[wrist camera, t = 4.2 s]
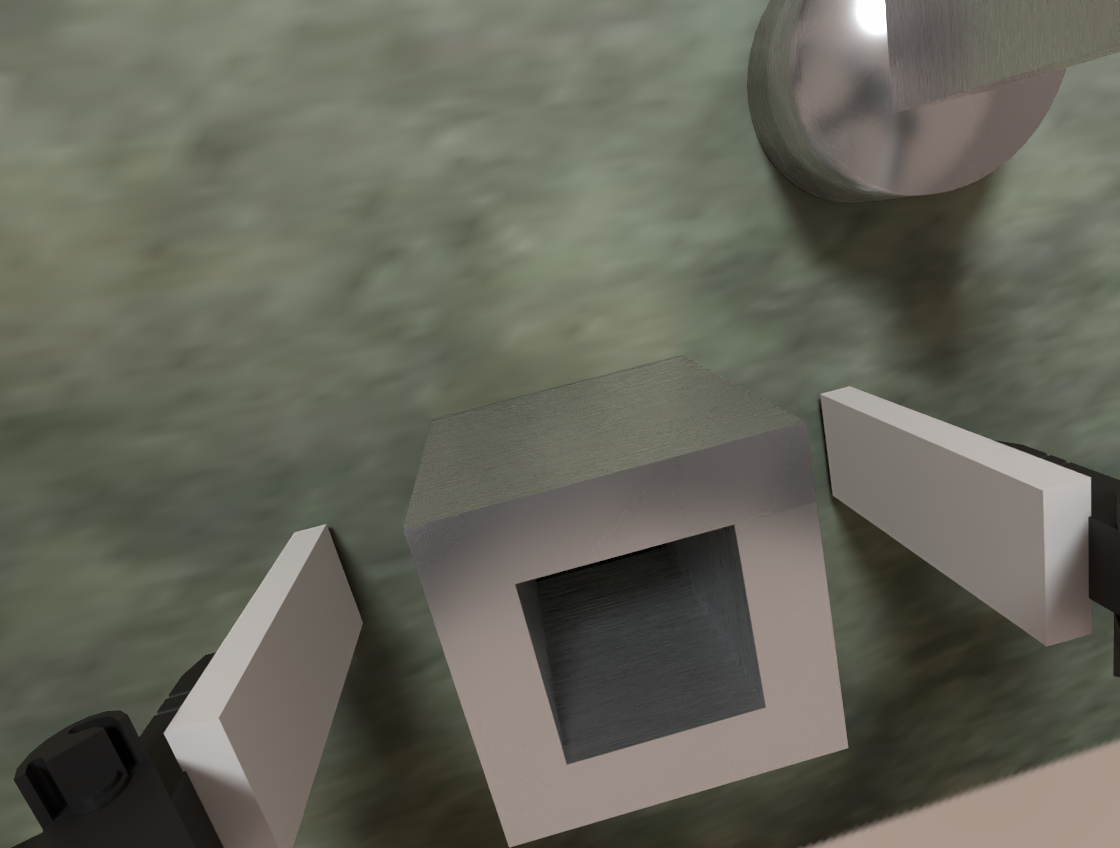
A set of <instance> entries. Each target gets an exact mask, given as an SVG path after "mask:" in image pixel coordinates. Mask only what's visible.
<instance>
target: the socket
mask: <svg viewBox="0 0 1120 848" xmlns="http://www.w3.org/2000/svg"><path fill="white" fill-rule="evenodd" d="M403 531H404V534H405V537H406V540H407V543H408V546H409V549H410V552H411V555H412V558H413V561H414V564H415V567H416V570H417V573H418V576H419V579H420V582H421V585H422V588H423V591H424V594H425V597H426V600H427V603H428V606H429V609H430V612H431V615H432V618H433V621H434V624H435V627H436V630H437V633H438V636H439V639H440V642H441V645H442V648H443V651H444V654H445V657H446V660H447V663H448V666H449V669H450V672H451V675H452V678H453V681H454V684H455V687H456V690H457V693H458V696H459V699H460V702H461V705H462V708H463V711H464V714H465V717H466V720H467V723H468V726H469V729H470V732H471V735H472V738H473V741H474V744H475V747H476V750H477V753H478V756H479V759H480V762H481V765H482V768H483V771H484V774H485V777H486V780H487V783H488V786H489V789H490V792H491V795H492V798H493V801H494V804H495V807H496V810H497V813H498V816H499V819H500V822H501V825H502V828H503V831H504V834H505V837H506V840H507V843H508V846H509V848H510V847H513V846H516V845H520V844H523V843H527V842H530V841H533V840H537V839H540V838H544V837H547V836H550V835H554V834H557V833H561V832H564V831H568V830H571V829H574V828H578V827H581V826H585V825H588V824H591V823H595V822H598V821H602V820H605V819H608V818H612V817H615V816H619V815H622V814H625V813H629V812H632V811H636V810H639V809H642V808H646V807H649V806H653V805H656V804H659V803H663V802H666V801H670V800H673V799H676V798H680V797H683V796H687V795H690V794H694V793H697V792H700V791H704V790H707V789H711V788H714V787H717V786H721V785H724V784H728V783H731V782H734V781H738V780H741V779H745V778H748V777H751V776H755V775H758V774H762V773H765V772H768V771H772V770H775V769H779V768H782V767H785V766H789V765H792V764H796V763H799V762H802V761H806V760H809V759H813V758H816V757H820V756H823V755H826V754H830V753H833V752H837V751H840V750H843V749H847V748H848V741H847V734H846V726H845V718H844V711H843V703H842V695H841V688H840V680H839V672H838V665H837V657H836V649H835V642H834V634H833V626H832V618H831V611H830V603H829V595H828V588H827V580H826V572H825V565H824V557H823V549H822V542H821V534H820V526H819V519H818V511H817V503H816V496H815V488H814V480H813V473H812V465H811V457H810V450H809V442H808V434H807V427H806V422H805V421H803V420H801V419H799V418H798V417H796V416H794V415H792V414H790V413H788V412H787V411H785V410H783V409H781V408H779V407H777V406H775V405H774V404H772V403H770V402H768V401H766V400H764V399H762V398H761V397H759V396H757V395H755V394H753V393H751V392H749V391H748V390H746V389H744V388H742V387H740V386H738V385H736V384H735V383H733V382H731V381H729V380H727V379H725V378H723V377H722V376H720V375H718V374H716V373H714V372H712V371H710V370H709V369H707V368H705V367H703V366H701V365H699V364H697V363H696V362H694V361H692V360H690V359H688V358H686V357H685V356H679V357H675V358H672V359H668V360H664V361H660V362H656V363H652V364H648V365H644V366H641V367H637V368H633V369H629V370H625V371H621V372H617V373H613V374H609V375H606V376H602V377H598V378H594V379H590V380H586V381H582V382H578V383H574V384H571V385H567V386H563V387H559V388H555V389H551V390H547V391H543V392H540V393H536V394H532V395H528V396H524V397H520V398H516V399H512V400H508V401H505V402H501V403H497V404H493V405H489V406H485V407H481V408H477V409H474V410H470V411H466V412H462V413H458V414H454V415H450V416H446V417H442V418H439V419H435V420H432V422H431V426H430V430H429V433H428V437H427V441H426V445H425V448H424V452H423V456H422V459H421V463H420V467H419V471H418V474H417V478H416V482H415V486H414V489H413V493H412V497H411V501H410V504H409V508H408V512H407V515H406V519H405V523H404V527H403ZM664 543H665V544H666V547H664V548H660V549H657V550H653V551H649V552H646V553H642V554H638V555H635V556H631V557H627V558H624V559H620V560H616V561H613V562H609V563H605V564H602V565H598V566H594V567H591V568H587V569H583V570H580V571H576V572H572V573H569V574H565V575H561V576H558V577H554V578H550V579H547V580H543V581H539V582H536V581H535V579H536V578H540V577H543V576H547V575H551V574H554V573H558V572H562V571H565V570H569V569H573V568H576V567H580V566H584V565H587V564H591V563H595V562H598V561H602V560H606V559H609V558H613V557H617V556H620V555H624V554H628V553H631V552H635V551H639V550H642V549H646V548H650V547H653V546H657V545H661V544H664Z"/></svg>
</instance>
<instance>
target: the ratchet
mask: <svg viewBox="0 0 1120 848" xmlns="http://www.w3.org/2000/svg"><path fill="white" fill-rule="evenodd" d="M1116 52H1120V0H770V2H769V4H768V6H767V8H766V10H765V12H764V14H763V15H762V18H761V20H760V23H759V25H758V28H757V30H756V33H755V36H754V40H753V44H752V48H751V52H750V58H749V65H748V79H747V90H748V103H749V108H750V113H751V118H752V122H753V125H754V128H755V131H756V134H757V137H758V139H759V141H760V143H761V145H762V147H763V150H764V151H765V153H766V154H767V156H768V157H769V159H770V160H771V162H772V163H773V165H774V166H775V167H776V168H777V169H778V170H779V172H780V173H781V174H782V175H783V176H784V177H786V178H787V179H788V180H789V181H790V182H791V183H792V184H794V185H795V186H797V187H798V188H800V189H802V190H803V191H805V192H807V193H809V194H811V195H814V196H816V197H818V198H822V199H825V200H829V201H834V202H843V203H857V202H868V201H877V200H885V199H894V198H903V197H912V196H921V195H930V194H936V193H942V192H948V191H952V190H955V189H958V188H961V187H964V186H967V185H969V184H971V183H973V182H975V181H977V180H979V179H982V178H983V177H985V176H986V175H988V174H990V173H991V172H993V171H994V170H996V169H997V168H999V167H1000V166H1001V165H1002V164H1004V163H1005V162H1006V161H1007V160H1009V159H1010V158H1011V157H1012V156H1013V155H1014V154H1015V153H1016V152H1017V151H1018V150H1019V149H1020V148H1021V147H1022V146H1023V145H1024V144H1025V143H1026V142H1027V140H1028V139H1029V138H1030V137H1031V135H1032V134H1033V133H1034V132H1035V130H1036V129H1037V128H1038V126H1039V125H1040V123H1041V122H1042V120H1043V118H1044V117H1045V115H1046V114H1047V112H1048V110H1049V109H1050V107H1051V105H1052V103H1053V100H1054V98H1055V96H1056V94H1057V92H1058V90H1059V87H1060V85H1061V82H1062V79H1063V77H1064V74H1065V71H1066V68H1067V67H1070V66H1074V65H1077V64H1080V63H1083V62H1087V61H1090V60H1093V59H1097V58H1100V57H1103V56H1107V55H1110V54H1113V53H1116Z"/></svg>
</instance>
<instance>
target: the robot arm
mask: <svg viewBox="0 0 1120 848" xmlns="http://www.w3.org/2000/svg"><path fill="white" fill-rule="evenodd" d="M820 397H821V405H822V413H823V421H824V429H825V437H826V445H827V453H828V461H829V469H830V477H831V485H832V494H833V496H834V497H836V498H837V499H838V500H840V501H841V502H843V503H844V504H846V505H847V506H848V507H850V508H851V509H853V510H854V511H855V512H857V513H858V514H860V515H861V516H863V517H864V518H865V519H867V520H868V521H870V522H871V523H872V524H874V525H875V526H877V527H878V528H880V529H881V530H882V531H884V532H885V533H887V534H888V535H889V536H891V537H892V538H894V539H895V540H897V541H898V542H899V543H901V544H902V545H904V546H905V547H906V548H908V549H909V550H911V551H912V552H914V553H915V554H916V555H918V556H919V557H921V558H922V559H923V560H925V561H926V562H928V563H929V564H931V565H932V566H933V567H935V568H936V569H938V570H939V571H940V572H942V573H943V574H945V575H946V576H948V577H949V578H950V579H952V580H953V581H955V582H956V583H957V584H959V585H960V586H962V587H963V588H965V589H966V590H967V591H969V592H970V593H972V594H973V595H974V596H976V597H977V598H979V599H980V600H982V601H983V602H984V603H986V604H987V605H989V606H990V607H991V608H993V609H994V610H996V611H997V612H999V613H1000V614H1001V615H1003V616H1004V617H1006V618H1007V619H1008V620H1010V621H1011V622H1013V623H1014V624H1016V625H1017V626H1018V627H1020V628H1021V629H1023V630H1024V631H1025V632H1027V633H1028V634H1030V635H1031V636H1033V637H1034V638H1035V639H1037V640H1038V641H1040V642H1041V643H1042V644H1044V645H1045V646H1051V645H1054V644H1058V643H1061V642H1065V641H1068V640H1071V639H1075V638H1078V637H1082V636H1085V635H1089V634H1091V600H1093V601H1095V602H1097V603H1098V604H1100V605H1102V606H1104V607H1105V608H1107V609H1109V610H1110V611H1112V612H1114V676H1116V677H1120V480H1118V479H1115V478H1112V477H1110V476H1107V475H1104V474H1101V473H1099V472H1096V471H1093V470H1090V469H1088V468H1085V467H1082V466H1079V465H1077V464H1074V463H1067V462H1066V460H1063V459H1060V458H1057V457H1055V456H1052V455H1050V456H1047V454H1046V453H1044V452H1041V451H1038V450H1036V449H1033V448H1030V447H1027V446H1025V445H1020V444H1014V443H1008V442H1002V441H995V440H991V439H988V438H985V437H983V436H980V435H977V434H975V433H972V432H969V431H967V430H964V429H961V428H959V427H956V426H954V425H951V424H948V423H946V422H943V421H940V420H938V419H935V418H932V417H930V416H927V415H924V414H922V413H919V412H916V411H914V410H911V409H908V408H906V407H903V406H901V405H898V404H895V403H893V402H890V401H887V400H885V399H882V398H879V397H877V396H874V395H871V394H869V393H866V392H863V391H861V390H858V389H855V388H853V387H850V386H849V387H845V388H841V389H838V390H834V391H830V392H826V393H822V394H820ZM362 624H363V622H362V619H361V616H360V614H359V611H358V608H357V605H356V603H355V600H354V597H353V595H352V592H351V589H350V586H349V584H348V581H347V578H346V576H345V573H344V570H343V567H342V565H341V562H340V559H339V557H338V554H337V551H336V548H335V546H334V543H333V540H332V538H331V535H330V532H329V530H328V527H327V524H325V525H321V526H317V527H313V528H309V529H306V530H302V531H298V532H294V534H293V535H292V537H291V538H290V540H289V542H288V543H287V545H286V546H285V548H284V549H283V551H282V552H281V554H280V555H279V557H278V558H277V560H276V561H275V563H274V565H273V566H272V568H271V569H270V571H269V572H268V574H267V575H266V577H265V578H264V580H263V581H262V583H261V585H260V586H259V588H258V589H257V591H256V592H255V594H254V595H253V597H252V598H251V600H250V601H249V603H248V604H247V606H246V608H245V609H244V611H243V612H242V614H241V615H240V617H239V618H238V620H237V621H236V623H235V624H234V626H233V627H232V629H231V631H230V632H229V634H228V635H227V637H226V638H225V640H224V641H223V643H222V644H221V646H220V647H219V649H218V650H217V652H216V653H212V654H208V655H205V656H204V657H203V658H202V659H201V660H199V661H198V662H197V663H196V664H195V665H194V666H193V667H191V668H190V669H189V670H188V671H187V672H186V673H185V674H184V675H182V677H181V678H180V680H179V681H178V683H177V684H176V685H175V687H174V688H173V690H172V691H171V693H170V694H169V699H166V700H165V701H164V703H163V704H162V706H161V707H160V708H159V710H158V711H157V713H158V715H156V716H154V717H153V719H152V720H151V721H150V723H149V724H148V726H147V727H146V729H145V730H144V731H143V733H142V734H141V736H140V737H139V736H138V734H137V732H136V730H135V728H134V726H133V724H132V722H131V720H130V719H129V717H128V715H127V714H125V713H124V712H122V711H106V712H102V713H99V714H96V715H92V716H89V717H87V718H85V719H82V720H80V721H78V722H76V723H74V724H72V725H70V726H68V727H66V728H64V729H63V730H61V731H60V732H58V733H57V734H55V735H53V736H52V737H50V738H49V739H47V740H46V741H45V742H43V743H42V744H41V745H40V746H39V747H37V748H36V749H35V750H34V751H33V752H31V753H30V754H29V755H28V756H27V757H26V759H25V760H24V761H23V762H22V763H21V765H20V766H19V767H18V768H17V771H16V774H15V778H14V781H15V783H16V785H17V786H18V788H19V790H20V791H21V793H22V795H23V796H24V798H25V800H26V802H27V803H28V805H29V807H30V808H31V810H32V812H33V813H34V815H35V817H36V818H37V820H38V822H39V823H40V825H41V827H42V829H43V833H41V834H39V835H37V836H35V837H32V838H30V839H28V840H26V841H24V842H22V843H20V844H18V845H16V846H14V847H12V848H293V845H294V842H295V839H296V836H297V833H298V829H299V826H300V823H301V820H302V817H303V813H304V810H305V807H306V804H307V801H308V797H309V794H310V791H311V788H312V785H313V781H314V778H315V775H316V772H317V769H318V765H319V762H320V759H321V756H322V753H323V749H324V746H325V743H326V740H327V737H328V733H329V730H330V727H331V724H332V721H333V717H334V714H335V711H336V708H337V705H338V701H339V698H340V695H341V692H342V689H343V685H344V682H345V679H346V676H347V673H348V669H349V666H350V663H351V660H352V657H353V653H354V650H355V647H356V644H357V641H358V637H359V634H360V631H361V628H362Z"/></svg>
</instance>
